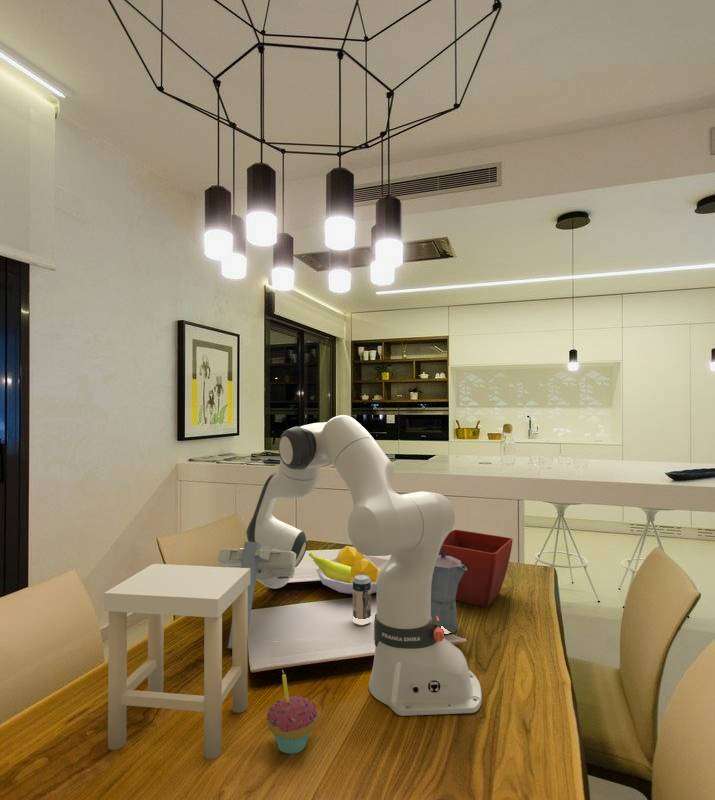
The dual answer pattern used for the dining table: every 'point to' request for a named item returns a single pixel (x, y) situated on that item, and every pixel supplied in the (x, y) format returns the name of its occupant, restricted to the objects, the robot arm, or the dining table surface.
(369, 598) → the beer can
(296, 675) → the dining table surface
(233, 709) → the stool
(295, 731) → the cupcake
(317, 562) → the fruit bowl
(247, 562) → the blue-gray rectangular bar
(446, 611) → the moka pot
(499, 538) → the plant pot
